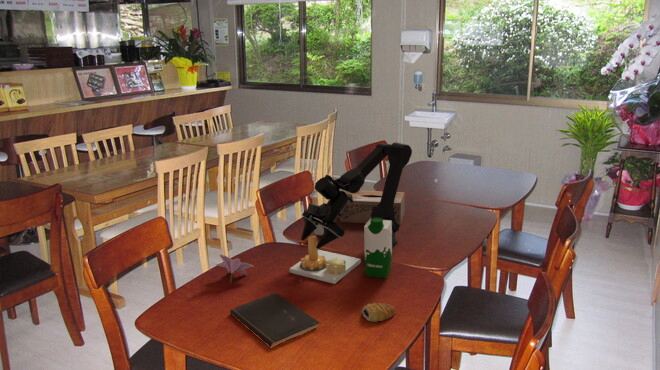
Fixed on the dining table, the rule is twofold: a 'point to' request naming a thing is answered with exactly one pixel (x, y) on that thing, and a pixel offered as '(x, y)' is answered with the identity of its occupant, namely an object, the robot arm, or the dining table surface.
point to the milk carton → (378, 247)
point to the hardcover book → (274, 318)
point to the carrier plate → (328, 267)
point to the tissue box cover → (369, 206)
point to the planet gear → (313, 256)
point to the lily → (234, 265)
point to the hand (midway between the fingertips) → (309, 244)
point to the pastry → (378, 312)
